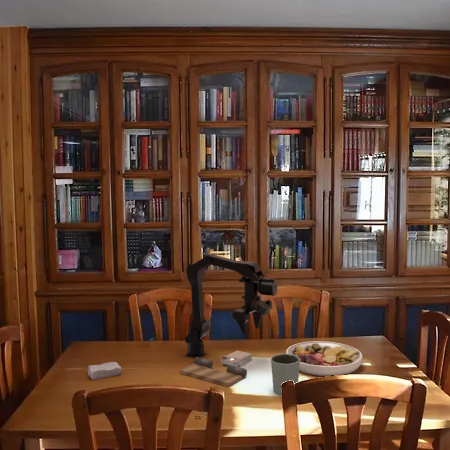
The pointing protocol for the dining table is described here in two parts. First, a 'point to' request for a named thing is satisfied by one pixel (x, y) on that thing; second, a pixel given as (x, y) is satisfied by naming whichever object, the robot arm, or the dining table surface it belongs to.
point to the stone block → (104, 370)
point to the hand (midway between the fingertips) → (250, 331)
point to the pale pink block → (236, 359)
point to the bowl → (326, 358)
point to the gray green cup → (284, 370)
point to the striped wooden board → (214, 372)
